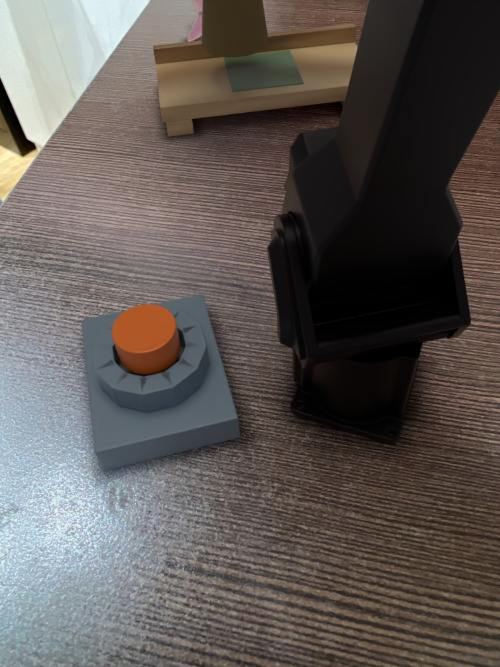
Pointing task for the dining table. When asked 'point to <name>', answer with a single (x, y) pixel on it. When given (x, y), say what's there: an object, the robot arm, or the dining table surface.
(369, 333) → the robot arm
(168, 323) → the bell button
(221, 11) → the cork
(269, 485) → the dining table surface
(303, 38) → the shelf
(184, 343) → the control box
